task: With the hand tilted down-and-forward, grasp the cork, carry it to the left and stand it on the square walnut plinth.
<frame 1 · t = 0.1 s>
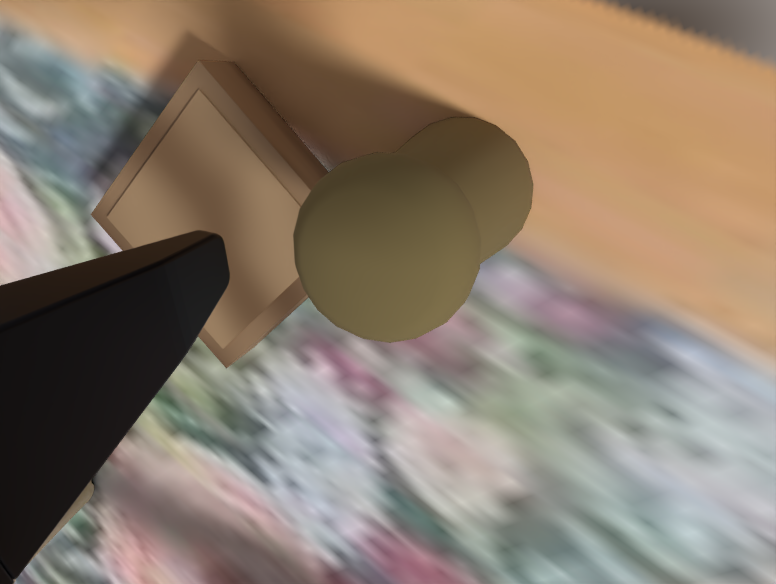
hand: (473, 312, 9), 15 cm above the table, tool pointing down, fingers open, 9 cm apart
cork: (460, 190, 24), on the table
flower pot: (63, 462, 40), on the table
walnut plinth: (244, 217, 28), on the table
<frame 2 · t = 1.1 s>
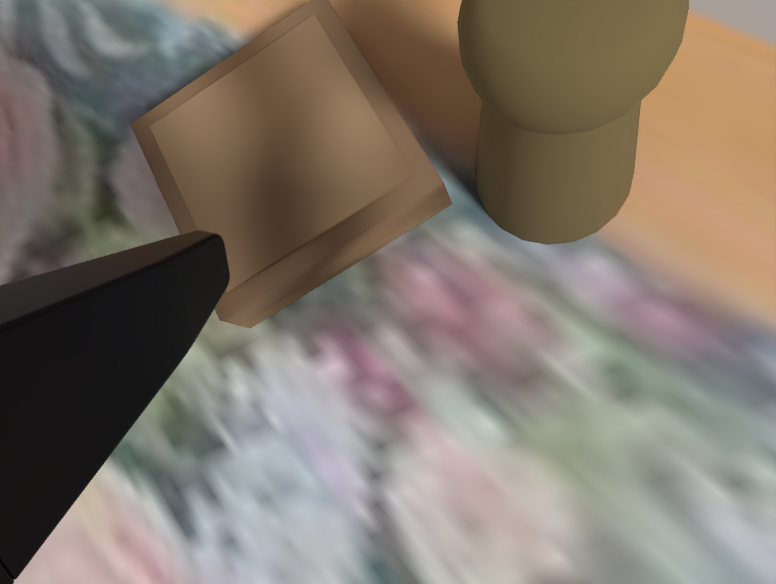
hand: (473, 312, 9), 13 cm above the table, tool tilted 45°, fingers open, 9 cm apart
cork: (551, 172, 23), on the table
walnut plinth: (297, 174, 25), on the table
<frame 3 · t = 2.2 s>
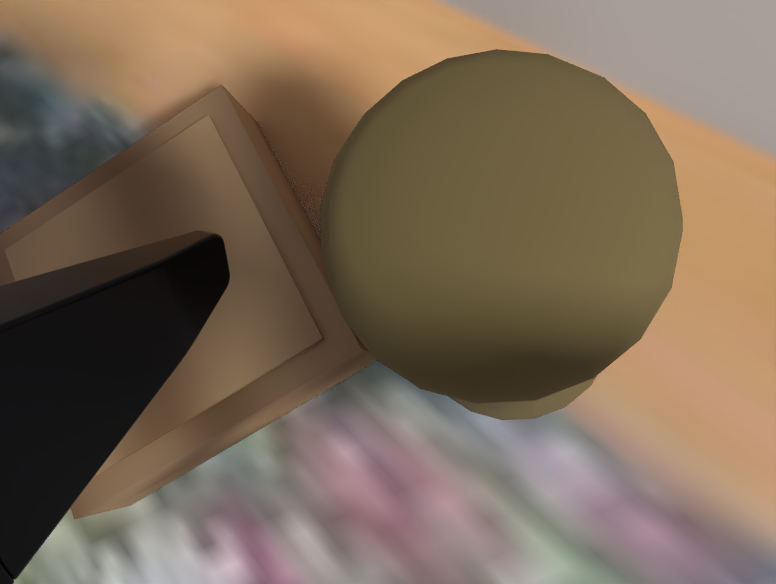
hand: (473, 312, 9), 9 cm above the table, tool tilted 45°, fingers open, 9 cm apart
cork: (509, 320, 18), on the table
walnut plinth: (196, 304, 20), on the table
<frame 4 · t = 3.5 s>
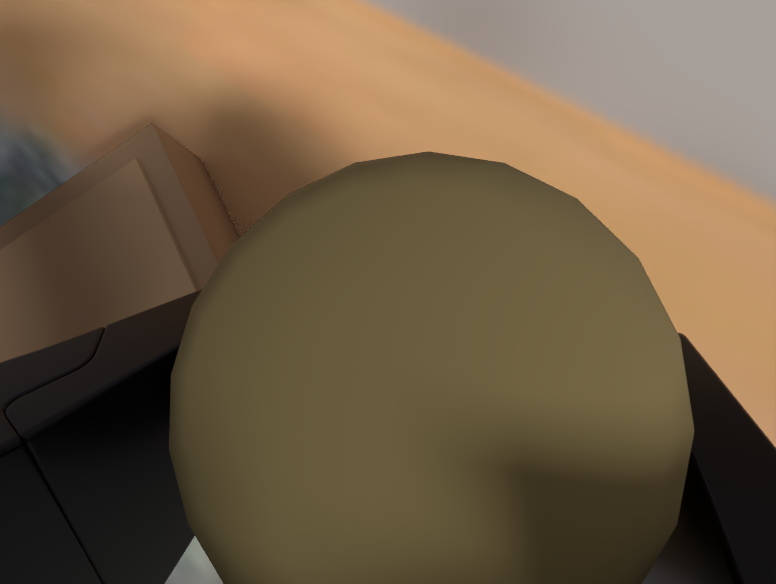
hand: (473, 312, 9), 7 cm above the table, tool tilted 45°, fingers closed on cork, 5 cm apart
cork: (484, 400, 15), on the table, touching gripper
walnut plinth: (130, 371, 18), on the table
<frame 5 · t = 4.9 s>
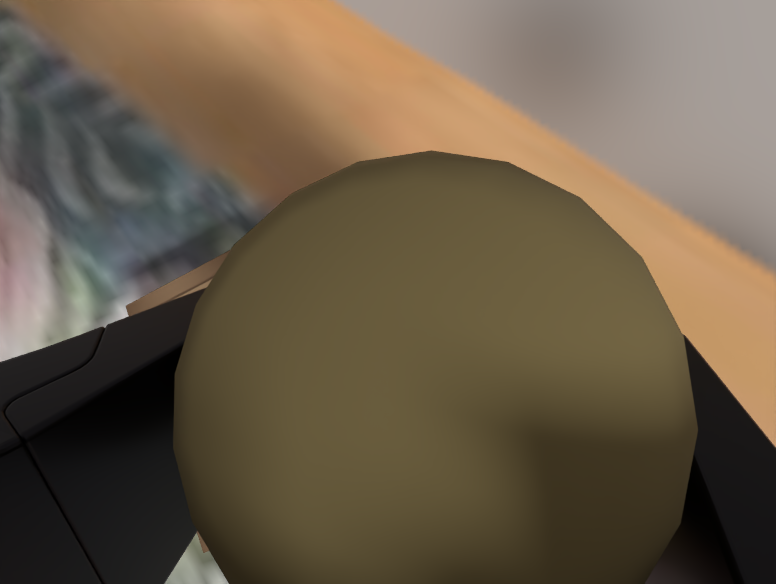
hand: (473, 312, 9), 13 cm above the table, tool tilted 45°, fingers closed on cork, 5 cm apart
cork: (487, 399, 15), point 6 cm above the table, touching gripper
walnut plinth: (300, 369, 23), on the table
when the fingers open (10 cm above the table, at t = 6.4 s): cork stays where it is, resting on walnut plinth.
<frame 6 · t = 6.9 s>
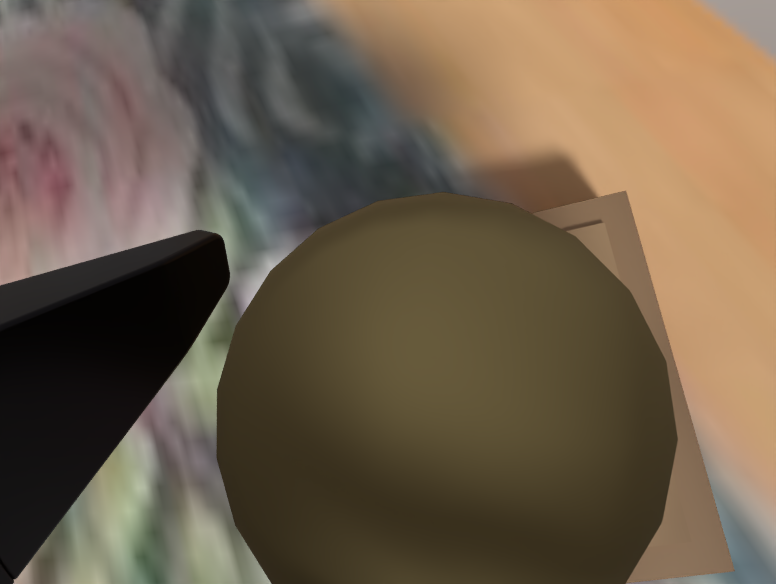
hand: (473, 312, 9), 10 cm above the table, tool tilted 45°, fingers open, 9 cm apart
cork: (488, 405, 16), point 2 cm above the table, touching walnut plinth
walnut plinth: (492, 400, 18), on the table
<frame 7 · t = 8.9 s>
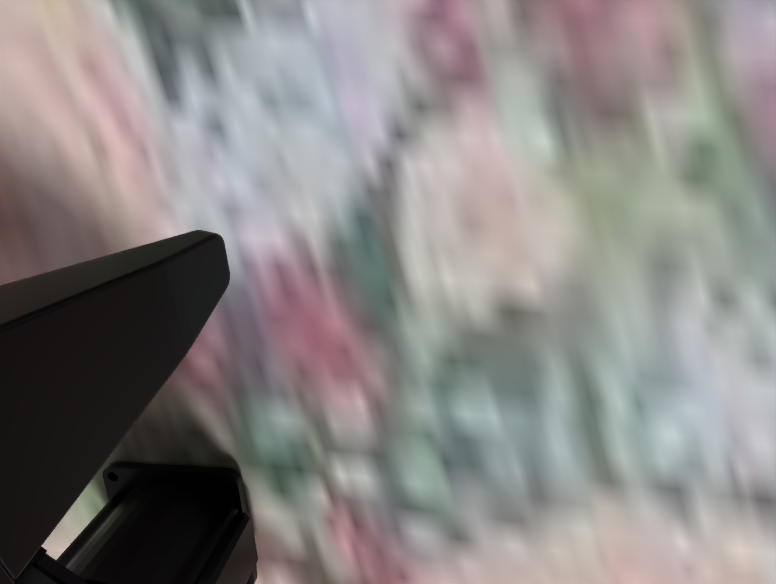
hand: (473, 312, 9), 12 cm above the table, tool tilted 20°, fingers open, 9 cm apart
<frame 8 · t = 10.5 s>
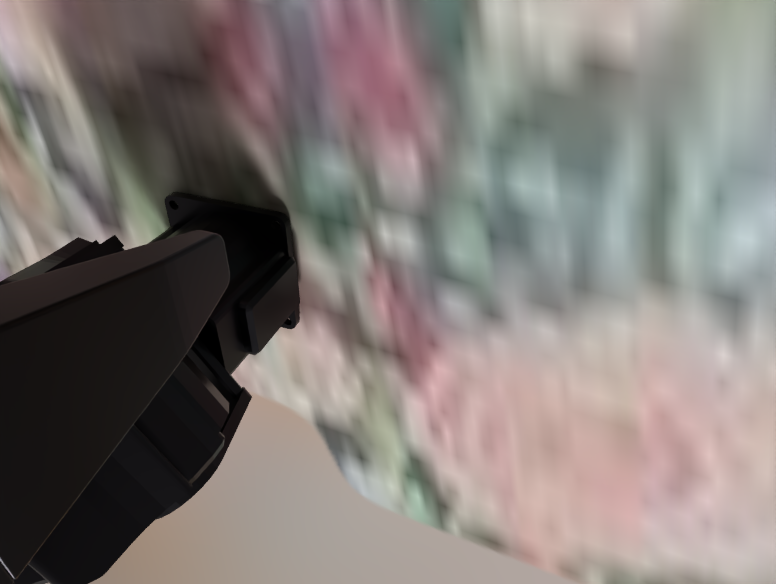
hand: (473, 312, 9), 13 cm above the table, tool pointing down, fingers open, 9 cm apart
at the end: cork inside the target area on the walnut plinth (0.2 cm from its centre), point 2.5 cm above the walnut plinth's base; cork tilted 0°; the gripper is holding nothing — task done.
